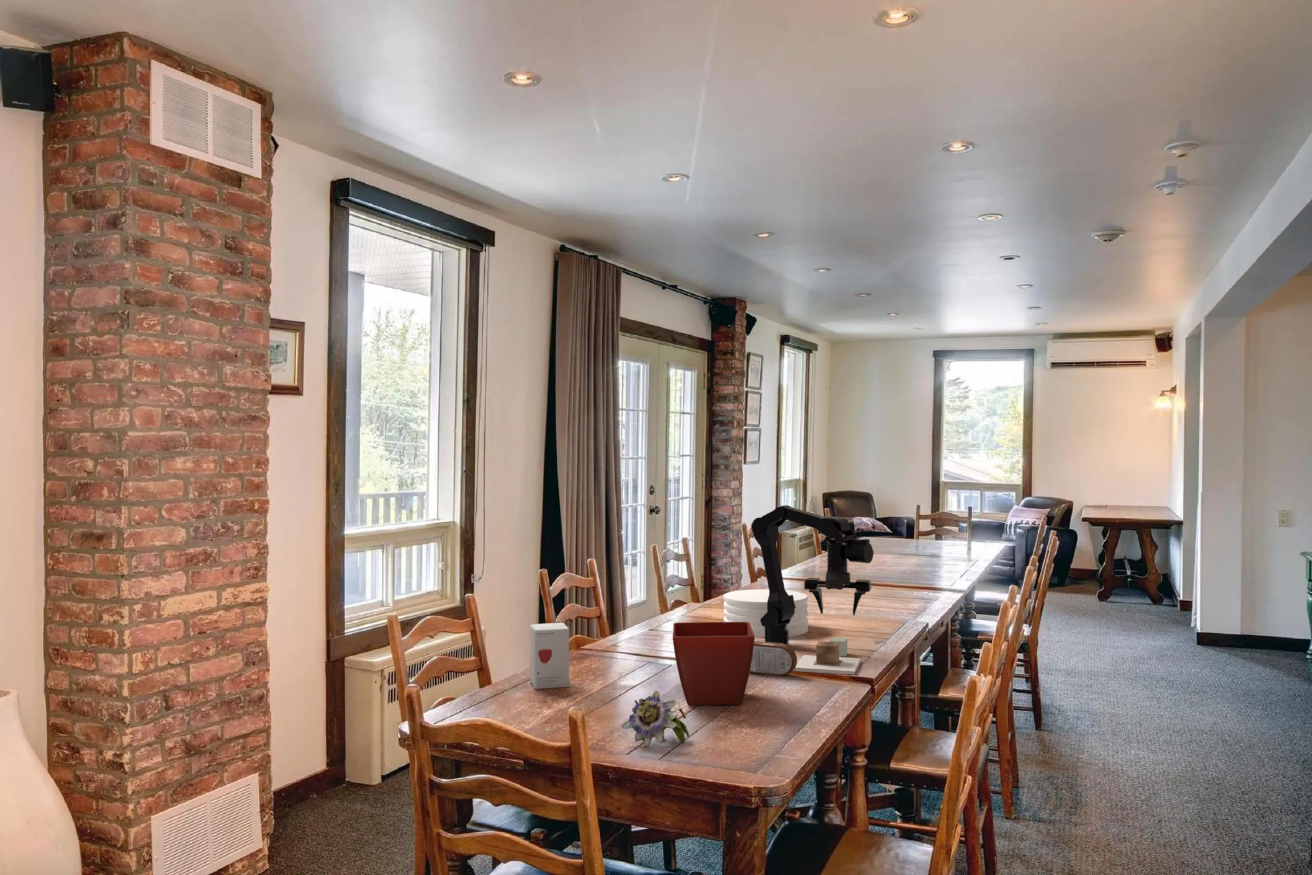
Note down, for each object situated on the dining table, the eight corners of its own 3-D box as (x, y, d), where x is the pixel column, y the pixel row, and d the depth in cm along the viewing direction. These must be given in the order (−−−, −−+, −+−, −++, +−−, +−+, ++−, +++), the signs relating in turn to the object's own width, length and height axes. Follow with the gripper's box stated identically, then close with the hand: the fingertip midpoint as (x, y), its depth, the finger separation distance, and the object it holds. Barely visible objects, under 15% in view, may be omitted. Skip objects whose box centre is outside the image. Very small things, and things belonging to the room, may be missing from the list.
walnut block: (816, 663, 253) (816, 645, 253) (819, 659, 258) (819, 641, 258) (836, 664, 251) (836, 646, 251) (839, 660, 256) (838, 642, 256)
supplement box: (534, 689, 232) (533, 629, 233) (529, 681, 241) (529, 623, 241) (570, 686, 235) (569, 627, 235) (564, 678, 243) (563, 621, 244)
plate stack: (814, 637, 295) (813, 601, 296) (726, 638, 296) (726, 602, 296) (801, 621, 323) (800, 588, 324) (721, 622, 324) (721, 589, 324)
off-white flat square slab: (794, 671, 249) (794, 666, 249) (803, 658, 264) (803, 654, 264) (854, 674, 244) (854, 670, 244) (860, 661, 260) (860, 657, 260)
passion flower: (647, 772, 186) (612, 725, 186) (659, 746, 197) (625, 701, 197) (691, 746, 183) (654, 697, 183) (701, 720, 194) (666, 674, 194)
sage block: (829, 656, 268) (829, 640, 268) (832, 652, 272) (831, 637, 272) (845, 656, 266) (845, 641, 267) (847, 653, 271) (847, 638, 271)
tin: (797, 675, 245) (797, 643, 245) (794, 678, 242) (793, 645, 242) (743, 670, 251) (743, 639, 251) (740, 672, 248) (739, 641, 248)
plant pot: (674, 688, 232) (673, 621, 232) (750, 688, 231) (749, 620, 232) (673, 709, 213) (672, 636, 213) (756, 709, 212) (755, 635, 213)
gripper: (800, 562, 265) (801, 617, 265) (867, 565, 259) (867, 620, 259) (807, 558, 275) (807, 610, 275) (871, 560, 270) (871, 614, 269)
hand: (837, 614), depth 269 cm, fingers open, 9 cm apart
